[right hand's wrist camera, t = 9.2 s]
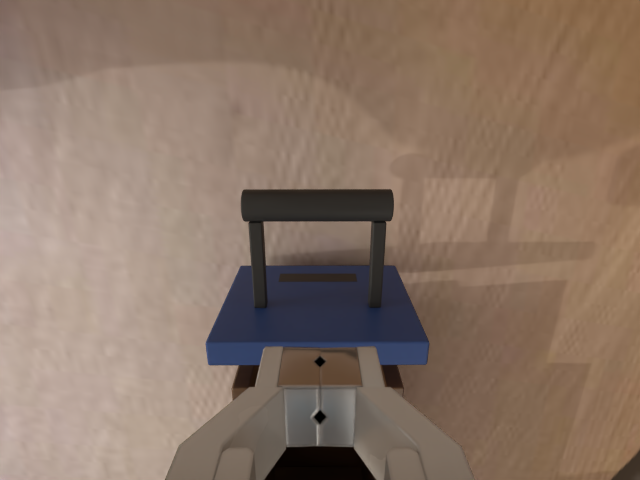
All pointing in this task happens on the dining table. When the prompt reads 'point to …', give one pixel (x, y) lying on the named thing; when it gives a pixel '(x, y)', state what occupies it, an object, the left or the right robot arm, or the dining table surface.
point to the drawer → (317, 310)
